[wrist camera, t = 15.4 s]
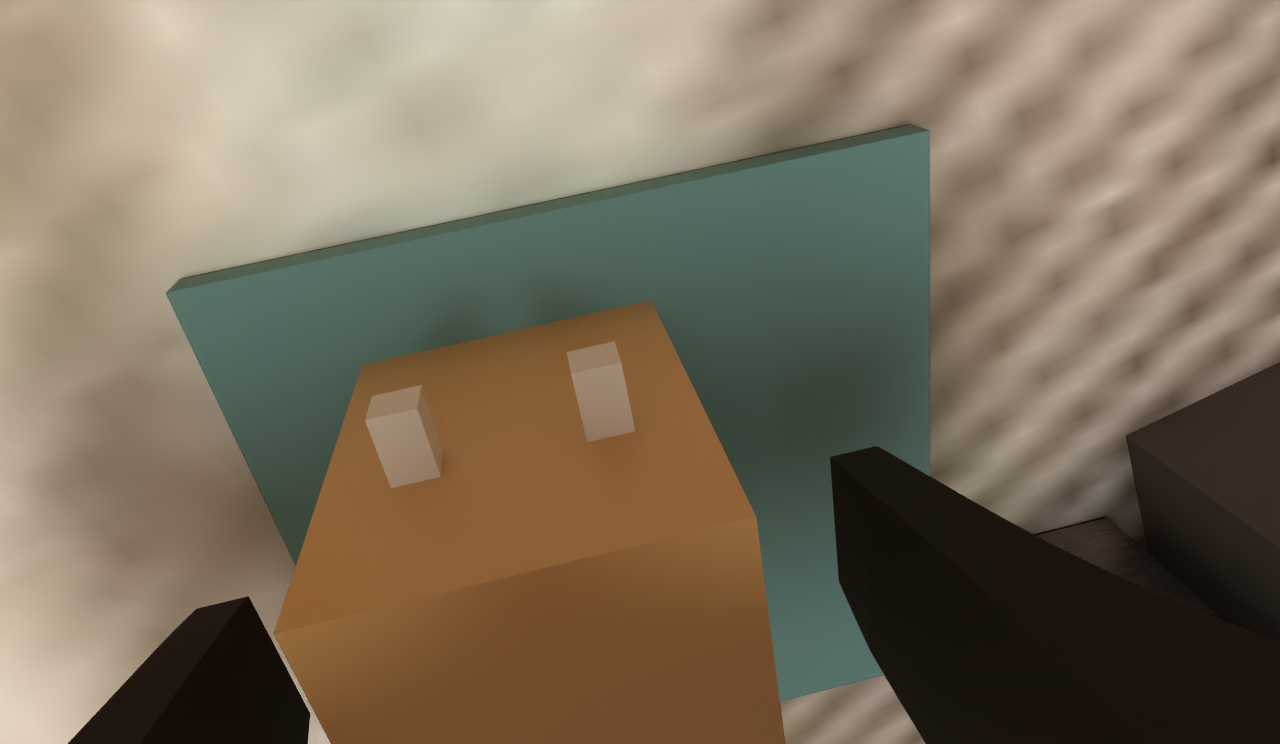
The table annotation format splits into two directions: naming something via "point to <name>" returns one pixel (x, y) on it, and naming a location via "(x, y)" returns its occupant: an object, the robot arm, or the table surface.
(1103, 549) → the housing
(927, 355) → the mat
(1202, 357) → the table surface
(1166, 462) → the push rod
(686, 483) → the plug
